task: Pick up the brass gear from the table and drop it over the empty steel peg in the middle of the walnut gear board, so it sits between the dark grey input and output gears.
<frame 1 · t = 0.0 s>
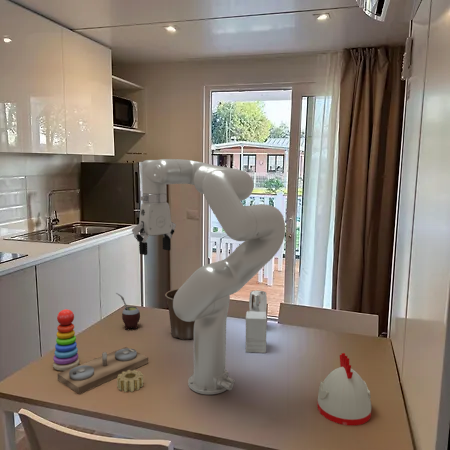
hand: (155, 252, 133), 37 cm above the table, tool pointing down, fingers open, 9 cm apart
supplement box: (255, 348, 147), on the table
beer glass: (257, 329, 165), on the table
stacking toy: (66, 366, 133), on the table
gear board: (105, 371, 130), on the table
brass gear: (130, 385, 122), on the table
mate gourd: (130, 328, 165), on the table
plant pot: (186, 334, 160), on the table
kitchen timer: (343, 410, 111), on the table
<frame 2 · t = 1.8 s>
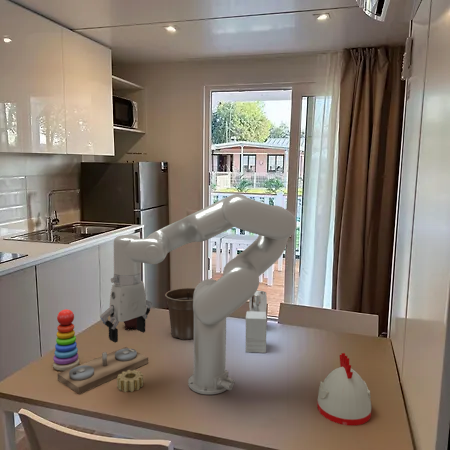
hand: (127, 336, 119), 15 cm above the table, tool pointing down, fingers open, 9 cm apart
nothing on the table moved.
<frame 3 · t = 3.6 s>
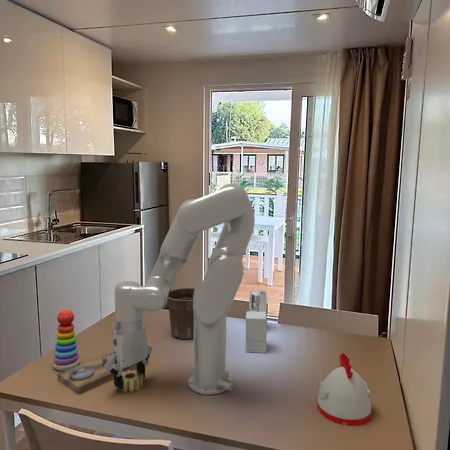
hand: (130, 381, 121), 1 cm above the table, tool pointing down, fingers closed on brass gear, 7 cm apart
brass gear: (130, 385, 122), on the table, touching gripper
everything else where it was.
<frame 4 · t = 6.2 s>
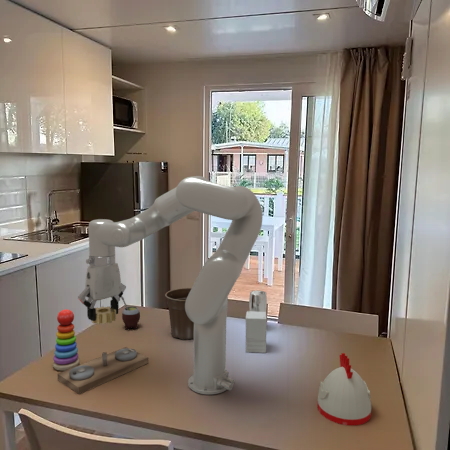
hand: (103, 316, 127), 18 cm above the table, tool pointing down, fingers closed on brass gear, 7 cm apart
brass gear: (103, 319, 127), point 17 cm above the table, touching gripper
everything else where it was.
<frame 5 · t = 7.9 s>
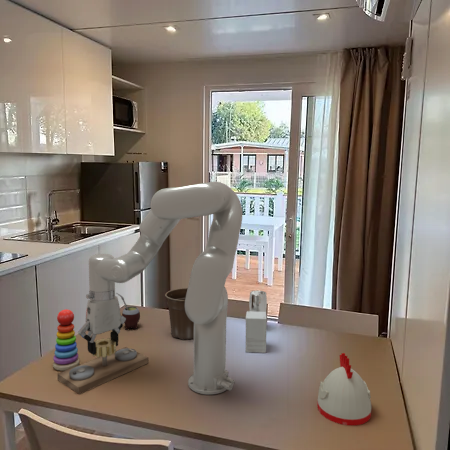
hand: (103, 348, 129), 7 cm above the table, tool pointing down, fingers closed on brass gear, 7 cm apart
brass gear: (103, 352, 129), point 6 cm above the table, touching gripper
everything else where it was.
when the fingers open (5 cm above the table, at t = 9.0 s): brass gear drops 2 cm, resting on gear board.
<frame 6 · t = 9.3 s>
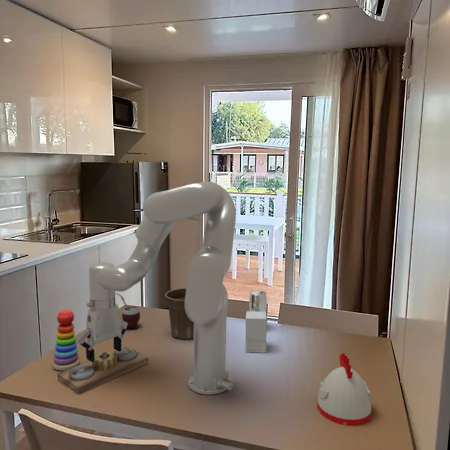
hand: (104, 355, 129), 5 cm above the table, tool pointing down, fingers open, 9 cm apart
brass gear: (104, 365, 130), point 2 cm above the table, touching gear board
everything else where it was.
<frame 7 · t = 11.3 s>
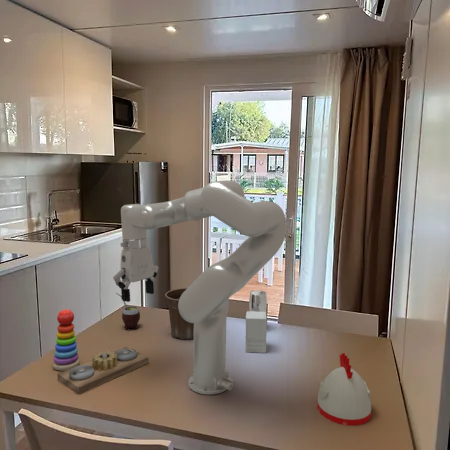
hand: (138, 297, 131), 23 cm above the table, tool pointing down, fingers open, 9 cm apart
nothing on the table moved.
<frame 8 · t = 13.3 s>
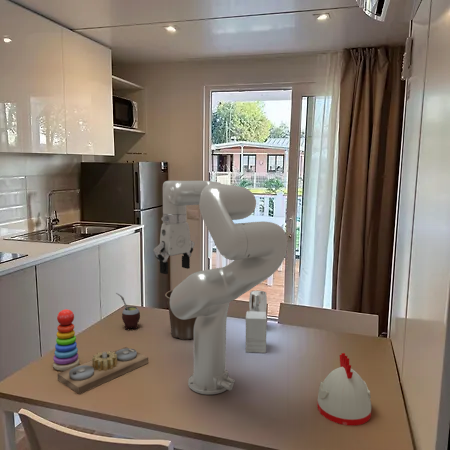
hand: (175, 270, 135), 30 cm above the table, tool pointing down, fingers open, 9 cm apart
nothing on the table moved.
at the end: brass gear 0.1 cm from the gear board (horizontally); brass gear point 2.0 cm above the table; the gripper is holding nothing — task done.
